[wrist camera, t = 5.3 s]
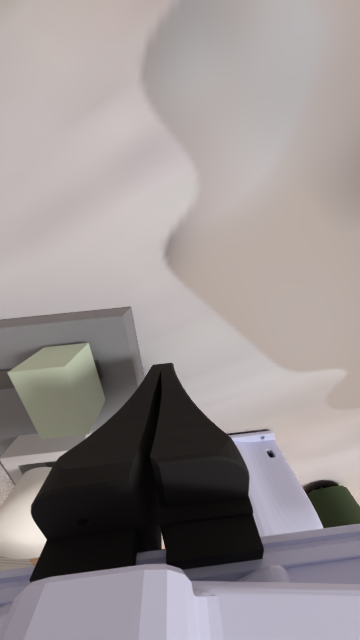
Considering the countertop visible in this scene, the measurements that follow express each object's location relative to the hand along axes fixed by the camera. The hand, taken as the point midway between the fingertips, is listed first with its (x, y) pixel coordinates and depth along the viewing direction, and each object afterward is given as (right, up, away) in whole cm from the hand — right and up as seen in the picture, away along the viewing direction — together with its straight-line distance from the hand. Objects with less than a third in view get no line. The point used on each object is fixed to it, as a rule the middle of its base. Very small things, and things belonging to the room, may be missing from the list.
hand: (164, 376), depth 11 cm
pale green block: (-7, 0, +2) cm, 7 cm away
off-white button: (-10, -10, +3) cm, 14 cm away
